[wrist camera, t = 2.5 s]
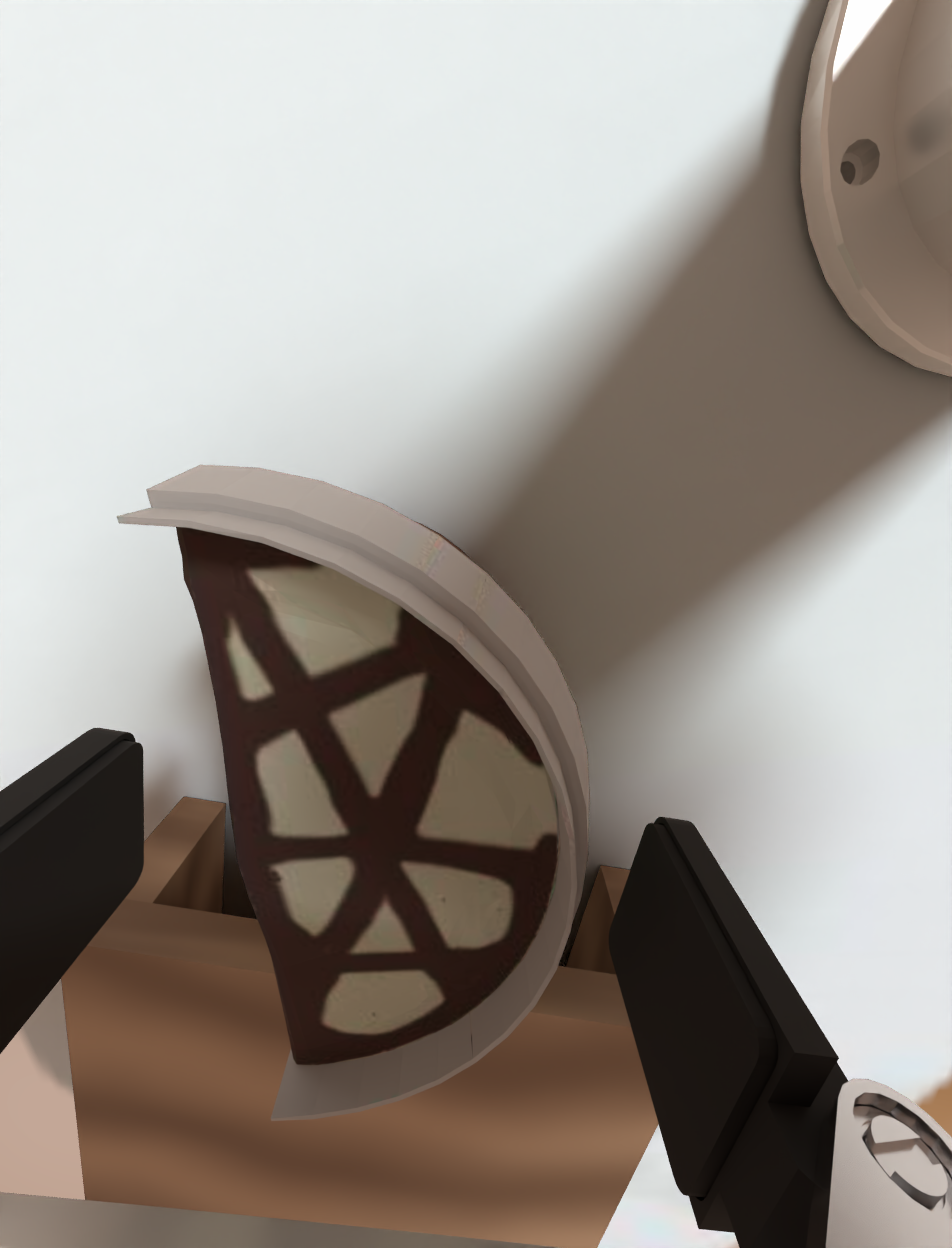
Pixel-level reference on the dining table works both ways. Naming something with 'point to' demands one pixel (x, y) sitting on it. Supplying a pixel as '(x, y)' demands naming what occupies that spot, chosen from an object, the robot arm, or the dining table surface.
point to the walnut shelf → (351, 1143)
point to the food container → (382, 778)
